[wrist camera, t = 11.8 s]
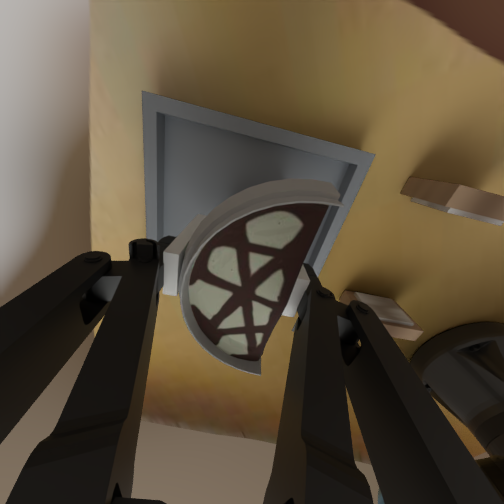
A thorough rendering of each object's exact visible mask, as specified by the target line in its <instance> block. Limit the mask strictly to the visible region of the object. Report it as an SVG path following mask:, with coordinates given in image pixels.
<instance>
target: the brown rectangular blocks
mask: <svg viewBox="0 0 504 504" xmlns="http://www.w3.org/2000/svg"><path fill="white" fill-rule="evenodd" d="M400 194H404V195H407V196H411V197H413V198H412V199H411V201H412V202H415V203H419V204H422V205H425V206H428V207H431V208H435V209H438V210H441V211H444V212H448V213H452V214H455V215H459V216H463V217H467V218H471V219H475V220H479V221H483V222H487V223H491V224H495V225H499V226H501V225H502V224H503V223H504V196H501V195H497V194H493V193H489V192H486V191H482V190H478V189H475V188H471V187H467V186H463V185H459V184H453V183H447V182H440V181H434V180H428V179H421V178H415V177H409V179H408V181H407V183H406V184H405V186H404V188H403V190H402V191H401V193H400ZM339 300H340V302H341V303H343V304H346V305H349V303H350V302H351V301H352V300H358V301H361V302H363V303H365V304H367V305H368V306H369V307H371V308H372V309H373V310H374V312H375V313H376V315H377V316H378V317H379V319H380V320H381V322H382V323H383V325H384V326H385V328H386V329H387V331H388V332H389V334H390V335H391V337H395V338H400V339H406V340H412V341H415V340H416V339H417V338H418V337H419V336H420V335H421V334H422V333H423V332H424V331H423V330H422V329H421V328H420V327H419V326H418V325H417V324H416V323H415V322H414V321H413V320H412V319H411V317H410V316H409V315H408V314H407V313H406V312H405V311H404V310H403V309H402V308H401V307H400V306H399V305H398V304H397V303H396V302H395V301H394V300H392V299H389V298H384V297H379V296H374V295H369V294H364V293H359V292H351V291H346V290H344V292H343V294H342V296H341V297H340V299H339Z"/></svg>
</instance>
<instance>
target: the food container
mask: <svg viewBox="0 0 504 504" xmlns="http://www.w3.org/2000/svg"><path fill="white" fill-rule="evenodd" d="M339 197H340V193H339V192H338V191H337V190H336V188H335V187H334V186H333V184H332V183H330V182H324V181H319V180H314V179H283V180H276V181H269V182H265V183H262V184H259V185H256V186H252V187H249V188H247V189H245V190H243V191H241V192H239V193H237V194H235V195H233V196H231V197H229V198H228V199H226V200H225V201H223V202H222V203H221V204H219V205H218V206H217V207H215V208H214V209H213V210H212V211H211V212H210V213H209V214H208V215H207V216H206V217H205V218H204V219H203V220H202V221H201V223H200V224H199V226H198V227H197V229H196V230H195V232H194V233H193V235H192V236H191V239H190V241H189V243H188V246H187V248H186V250H185V255H184V260H183V265H182V269H181V274H180V279H179V296H180V304H181V309H182V314H183V318H184V320H185V323H186V325H187V328H188V329H189V331H190V333H191V334H192V336H193V337H194V339H195V340H196V341H197V342H198V343H199V344H200V346H201V347H202V348H203V349H204V350H206V351H207V352H208V353H209V354H210V355H212V356H213V357H214V358H216V359H218V360H219V361H221V362H223V363H224V364H226V365H229V366H231V367H233V368H235V369H238V370H241V371H244V372H247V373H251V374H255V375H260V376H261V355H262V354H263V351H264V348H265V345H266V343H267V341H268V339H269V337H270V335H271V333H272V331H273V329H274V327H275V325H276V323H277V322H278V320H279V318H280V317H281V315H282V313H283V311H284V309H285V308H286V306H287V304H288V301H289V299H290V296H291V293H292V291H293V288H294V285H295V283H296V280H297V278H298V275H299V273H300V270H301V268H302V265H303V263H304V260H305V258H306V256H307V254H308V251H309V249H310V247H311V245H312V243H313V240H314V238H315V236H316V234H317V232H318V229H319V227H320V225H321V223H322V221H323V218H324V216H325V214H326V212H327V210H328V207H329V205H334V206H339V207H344V204H342V203H341V202H340V201H338V199H339Z"/></svg>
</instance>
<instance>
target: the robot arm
mask: <svg viewBox="0 0 504 504" xmlns="http://www.w3.org/2000/svg"><path fill="white" fill-rule="evenodd" d="M205 217H206V216H205V215H201V214H198V215H197V216H196V217H195V218H194V219H193V220H192V221H191V222H190V223H189V224H188V225H187V227H186V228H185V229H184V230H183V231H182V232H181V233H180V234H179V235H178V236H177V237H174V236H169V235H168V236H166V237H163V238H161V239H160V240H159V241H158V242H157V241H155V240H152V239H136V240H133V241H131V242H130V243H129V255H130V259H129V261H111V256H110V255H109V254H108V253H105V252H100V251H93V252H92V251H91V252H87V253H83V254H81V255H79V256H77V257H75V258H74V259H72V260H71V261H69V262H68V263H66V264H65V265H63V266H62V267H60V268H59V269H57V270H56V271H54V272H53V273H51V274H50V275H48V276H47V277H45V278H44V279H42V280H41V281H39V282H38V283H36V284H35V285H33V286H32V287H31V288H29V289H27V290H26V291H24V292H23V293H21V294H20V295H18V296H17V297H15V298H14V299H12V300H11V301H9V302H8V303H6V304H5V305H3V306H2V307H0V444H1V443H2V441H3V440H4V439H5V438H6V437H7V435H8V434H9V433H10V432H11V430H12V429H13V428H14V426H15V425H16V424H17V423H18V422H19V420H20V419H21V418H22V416H23V415H24V414H25V413H26V412H27V411H28V409H29V408H30V407H31V406H32V404H33V403H34V402H35V400H36V399H37V398H38V397H39V396H40V394H41V393H42V392H43V391H44V389H45V388H46V387H47V386H48V385H49V383H50V382H51V381H52V379H53V378H54V377H55V376H56V375H57V373H58V372H59V371H60V370H61V368H62V367H63V366H64V365H65V363H66V362H67V361H68V360H69V358H70V357H71V356H72V355H73V353H74V352H75V351H76V350H77V348H78V347H79V346H80V345H81V344H82V342H83V341H84V340H85V339H86V337H87V336H88V335H89V334H90V332H91V331H92V330H93V329H94V327H95V326H96V325H97V324H98V323H99V321H100V320H101V319H102V318H103V316H104V315H105V316H104V318H103V320H102V323H101V325H100V327H99V330H98V332H97V334H96V336H95V339H94V341H93V343H92V345H91V348H90V350H89V352H88V355H87V357H86V359H85V361H84V364H83V366H82V368H81V371H80V373H79V375H78V377H77V380H76V382H75V384H74V386H73V389H72V391H71V393H70V396H69V398H68V400H67V402H66V405H65V407H64V409H63V411H62V414H61V416H60V418H59V421H58V423H57V425H56V427H55V429H54V430H53V432H52V433H51V434H50V436H48V437H47V438H46V439H44V440H42V441H41V442H39V444H38V445H37V446H36V448H35V449H34V450H33V452H32V453H31V454H30V456H29V458H28V460H27V462H26V463H25V465H24V467H23V469H22V471H21V473H20V475H19V477H18V479H17V481H16V483H15V485H14V487H13V489H12V491H11V493H10V496H9V497H8V500H7V502H6V504H166V503H164V502H163V501H160V500H147V499H135V498H131V493H132V485H133V475H134V461H135V453H136V446H137V439H138V433H139V427H140V420H141V414H142V407H143V401H144V394H145V388H146V381H147V375H148V368H149V362H150V355H151V349H152V342H153V336H154V329H155V323H156V316H157V310H158V303H159V291H160V290H161V288H162V287H163V294H167V295H173V296H177V294H178V292H179V279H180V274H181V269H182V265H183V260H184V255H185V250H186V248H187V246H188V243H189V241H190V239H191V236H192V235H193V233H194V232H195V230H196V229H197V227H198V226H199V224H200V223H201V221H202V220H203V219H204V218H205ZM296 311H298V315H299V317H298V319H297V321H296V323H295V325H294V327H293V329H292V331H293V332H294V338H293V344H292V350H291V356H290V363H289V369H288V375H287V381H286V387H285V394H284V400H283V406H282V412H281V419H280V425H279V431H278V437H277V444H276V450H275V457H274V462H273V468H272V473H271V477H270V480H269V483H268V486H267V489H266V493H265V497H264V502H263V504H373V499H372V495H371V490H370V486H369V484H368V482H367V479H366V477H365V475H364V474H363V473H362V472H360V471H359V469H357V467H356V464H355V461H354V456H353V448H352V439H351V431H350V422H349V413H348V405H347V396H346V388H347V391H348V394H349V397H350V400H351V403H352V406H353V409H354V412H355V415H356V418H357V421H358V424H359V427H360V430H361V433H362V436H363V440H364V443H365V446H366V449H367V452H368V455H369V458H370V461H371V464H372V467H373V470H374V472H375V476H376V479H377V482H378V485H379V491H378V504H504V324H502V323H495V322H482V323H474V324H468V325H464V326H460V327H457V328H454V329H451V330H449V331H446V332H444V333H442V334H440V335H438V336H436V337H434V338H433V339H431V340H429V341H428V342H427V343H425V344H424V345H423V346H422V347H421V348H419V349H418V351H417V352H416V353H415V354H414V356H413V358H412V360H411V363H409V362H408V361H407V359H406V358H405V356H404V355H403V353H402V352H401V350H400V349H399V347H398V346H397V344H396V343H395V341H394V340H393V338H392V337H391V335H390V334H389V332H388V331H387V329H386V328H385V326H384V325H383V323H382V322H381V320H380V319H379V317H378V316H377V315H376V313H375V312H374V310H373V309H372V308H371V307H369V306H368V305H367V304H365V303H363V302H361V301H358V300H352V301H351V302H350V303H349V305H346V304H343V303H341V302H338V301H336V300H335V296H334V294H333V293H332V292H331V291H329V290H328V289H326V288H324V287H322V285H321V283H320V281H319V279H318V277H317V275H316V274H315V271H314V269H313V268H312V267H311V266H310V265H309V264H307V263H303V265H302V268H301V270H300V273H299V275H298V278H297V280H296V283H295V285H294V288H293V291H292V293H291V296H290V299H289V301H288V304H287V306H286V308H285V309H284V311H283V313H282V315H284V316H290V317H294V316H295V313H296ZM294 330H295V331H294ZM359 339H360V342H361V347H360V346H359V345H358V341H359ZM345 385H346V387H345ZM432 397H433V398H435V399H436V400H437V401H438V402H439V403H440V404H441V405H442V406H444V407H445V408H446V409H447V410H448V411H449V412H450V413H451V414H453V415H454V416H455V417H456V418H457V419H458V420H459V421H461V422H462V423H463V424H464V425H465V426H466V427H467V428H468V429H469V430H470V431H471V432H472V434H473V435H474V436H475V437H476V439H477V440H478V441H479V442H480V444H481V445H482V446H483V448H484V449H485V450H486V451H487V453H488V454H489V456H490V457H489V458H484V459H479V460H474V458H473V457H472V455H471V454H470V452H469V451H468V450H467V448H466V447H465V445H464V444H463V442H462V441H461V439H460V438H459V436H458V435H457V433H456V432H455V430H454V429H453V427H452V426H451V424H450V423H449V421H448V420H447V418H446V417H445V415H444V414H443V412H442V411H441V409H440V408H439V406H438V405H437V404H436V402H435V401H434V399H433V398H432Z"/></svg>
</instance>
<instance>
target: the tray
mask: <svg viewBox="0 0 504 504" xmlns="http://www.w3.org/2000/svg"><path fill="white" fill-rule="evenodd" d="M142 112H143V143H144V174H145V204H146V235H147V239H152V240H155V241H157V242H158V241H159V240H160V239H161V238H163V237H166V236H168V235H169V236H174V237H177V236H178V235H179V234H180V233H181V232H182V231H183V230H184V229H185V228H186V227H187V225H188V224H189V223H190V222H191V221H192V220H193V219H194V218H195V217H196V216H197V215H198V214H201V215H205V216H207V215H208V214H209V213H210V212H211V211H212V210H213V209H214V208H215V207H217V206H218V205H219V204H221V203H222V202H223V201H225V200H226V199H228V198H229V197H231V196H233V195H235V194H237V193H239V192H241V191H243V190H245V189H247V188H249V187H252V186H256V185H259V184H262V183H265V182H269V181H276V180H283V179H314V180H319V181H324V182H330V183H332V184H333V186H334V187H335V188H336V190H337V191H338V192H339V193H340V197H339V199H338V201H340V202H341V203H342V204H344V207H339V206H334V205H329V207H328V210H327V212H326V214H325V216H324V218H323V221H322V223H321V225H320V227H319V229H318V232H317V234H316V236H315V238H314V240H313V243H312V245H311V247H310V249H309V251H308V254H307V256H306V258H305V260H304V263H307V264H309V265H310V266H311V267H312V268H313V269H314V271H315V274H316V275H317V277H318V276H319V273H320V271H321V269H322V267H323V265H324V263H325V261H326V259H327V256H328V254H329V252H330V250H331V248H332V246H333V244H334V242H335V240H336V237H337V235H338V233H339V231H340V229H341V227H342V225H343V223H344V221H345V218H346V216H347V214H348V212H349V210H350V208H351V206H352V204H353V202H354V199H355V197H356V195H357V193H358V191H359V189H360V187H361V185H362V182H363V180H364V178H365V176H366V174H367V172H368V170H369V168H370V166H371V163H372V161H373V159H374V157H375V155H376V154H372V153H369V152H365V151H361V150H358V149H354V148H350V147H347V146H343V145H339V144H336V143H332V142H328V141H325V140H321V139H317V138H314V137H310V136H306V135H303V134H299V133H295V132H292V131H288V130H284V129H281V128H277V127H273V126H270V125H266V124H263V123H259V122H255V121H252V120H248V119H244V118H241V117H237V116H233V115H230V114H226V113H222V112H219V111H215V110H211V109H208V108H204V107H200V106H197V105H193V104H189V103H186V102H182V101H178V100H175V99H171V98H168V97H164V96H160V95H157V94H153V93H149V92H146V91H142Z"/></svg>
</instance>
